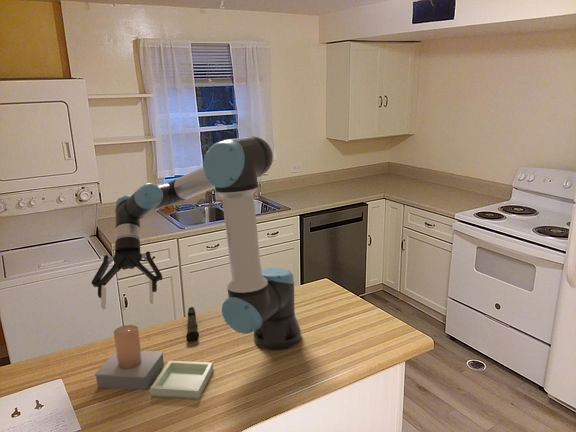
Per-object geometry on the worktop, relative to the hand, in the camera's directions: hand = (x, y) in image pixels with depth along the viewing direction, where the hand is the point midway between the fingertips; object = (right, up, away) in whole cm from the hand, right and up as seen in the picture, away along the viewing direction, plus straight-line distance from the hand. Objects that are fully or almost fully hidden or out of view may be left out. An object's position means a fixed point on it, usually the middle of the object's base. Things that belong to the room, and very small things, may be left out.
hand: (127, 305), depth 135 cm
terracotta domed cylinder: (+3, -15, -6) cm, 16 cm away
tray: (+19, -20, -9) cm, 28 cm away
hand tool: (+14, -12, +21) cm, 28 cm away
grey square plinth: (+3, -19, -5) cm, 20 cm away
